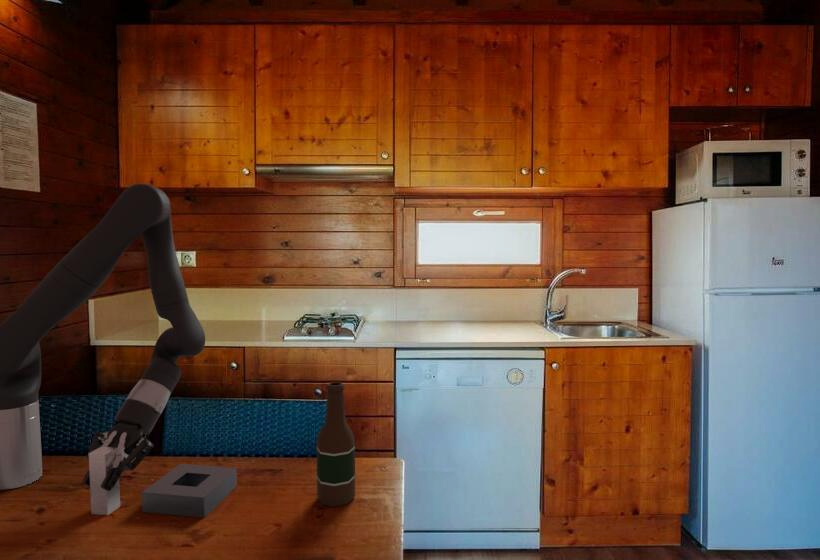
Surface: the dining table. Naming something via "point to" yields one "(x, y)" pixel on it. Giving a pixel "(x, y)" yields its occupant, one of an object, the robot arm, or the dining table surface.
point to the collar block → (189, 490)
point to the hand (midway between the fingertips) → (96, 486)
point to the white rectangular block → (98, 469)
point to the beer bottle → (335, 452)
